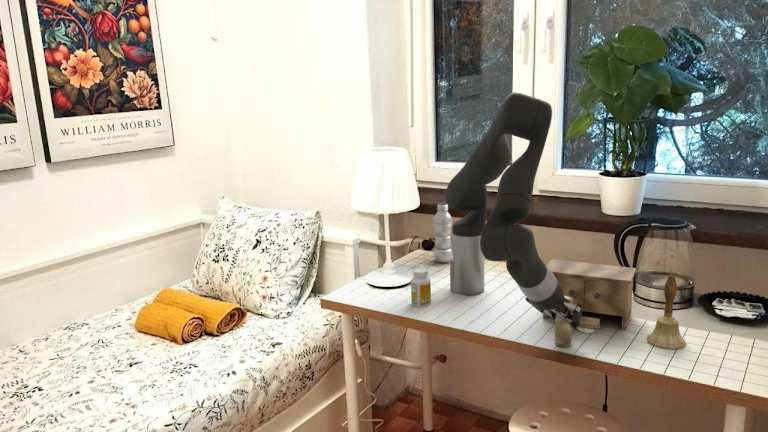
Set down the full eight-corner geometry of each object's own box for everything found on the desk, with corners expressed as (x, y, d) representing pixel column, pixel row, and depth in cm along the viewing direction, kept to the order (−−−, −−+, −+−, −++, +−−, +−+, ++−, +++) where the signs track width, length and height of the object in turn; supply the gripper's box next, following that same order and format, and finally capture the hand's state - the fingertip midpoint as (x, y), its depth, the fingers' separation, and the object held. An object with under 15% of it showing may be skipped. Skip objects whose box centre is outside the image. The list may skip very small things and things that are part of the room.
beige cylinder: (543, 343, 140) (544, 298, 138) (558, 320, 153) (559, 279, 151) (588, 351, 136) (590, 304, 133) (599, 327, 149) (601, 284, 146)
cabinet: (540, 319, 155) (541, 271, 152) (550, 304, 165) (551, 259, 162) (627, 332, 145) (630, 281, 143) (633, 316, 155) (636, 268, 153)
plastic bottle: (432, 264, 205) (432, 206, 201) (434, 258, 211) (433, 202, 207) (452, 264, 204) (451, 206, 200) (453, 259, 210) (452, 202, 206)
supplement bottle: (433, 301, 170) (432, 268, 168) (428, 308, 165) (427, 274, 163) (414, 299, 172) (413, 266, 170) (409, 306, 167) (408, 272, 165)
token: (575, 334, 146) (576, 329, 146) (577, 327, 150) (577, 322, 150) (595, 336, 145) (595, 331, 144) (596, 329, 149) (596, 324, 148)
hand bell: (652, 331, 146) (657, 268, 142) (690, 340, 140) (695, 274, 137) (641, 343, 139) (646, 277, 136) (680, 352, 134) (686, 284, 131)
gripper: (576, 277, 126) (603, 316, 136) (519, 263, 136) (548, 301, 147) (561, 308, 124) (589, 345, 134) (504, 292, 134) (535, 328, 144)
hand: (568, 322), depth 140 cm, fingers closed on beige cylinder, 3 cm apart
